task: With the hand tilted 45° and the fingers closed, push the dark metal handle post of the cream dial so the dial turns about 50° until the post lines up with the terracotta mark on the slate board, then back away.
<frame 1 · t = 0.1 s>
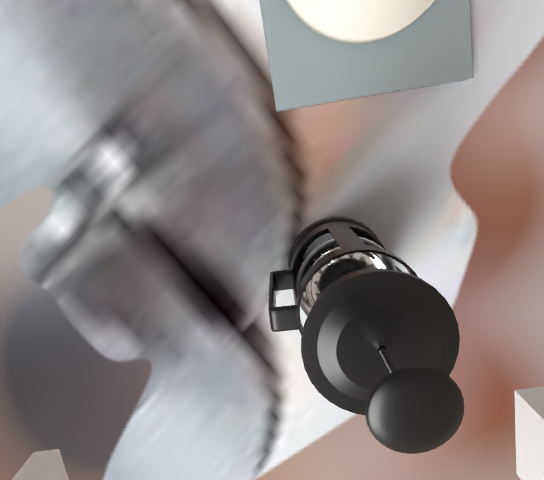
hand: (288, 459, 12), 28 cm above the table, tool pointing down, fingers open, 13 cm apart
french press: (330, 264, 39), on the table
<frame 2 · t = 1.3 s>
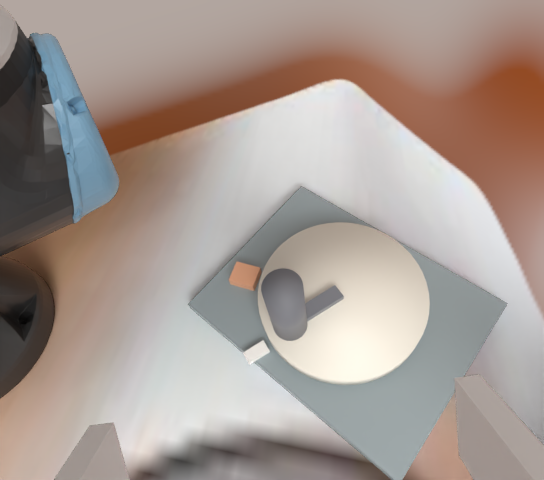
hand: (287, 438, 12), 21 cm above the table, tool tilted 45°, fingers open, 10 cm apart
dial: (342, 279, 31), point 6 cm above the table, hinge at 0.0°
dial board: (339, 309, 36), on the table
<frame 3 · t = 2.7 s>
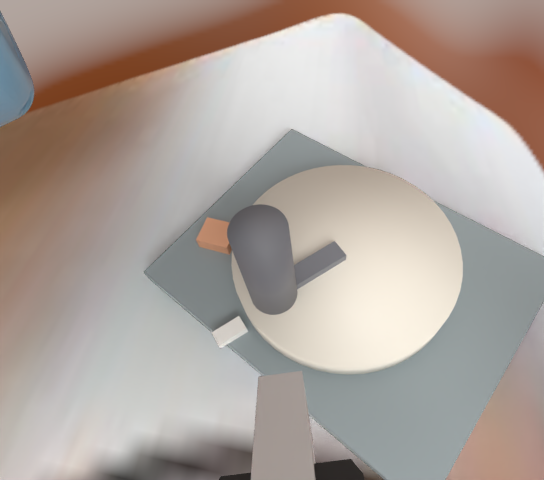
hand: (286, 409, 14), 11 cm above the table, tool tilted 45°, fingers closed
dial: (344, 229, 23), point 6 cm above the table, hinge at 0.0°
dial board: (340, 277, 28), on the table
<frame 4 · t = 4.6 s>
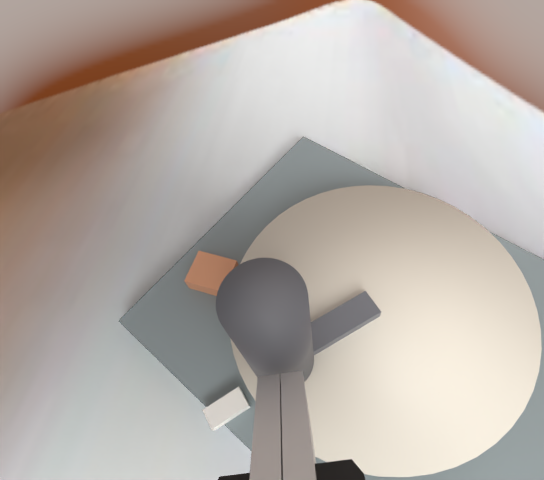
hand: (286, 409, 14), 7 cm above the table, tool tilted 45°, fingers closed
dial: (381, 281, 17), point 6 cm above the table, hinge at 2.3°, touching gripper
dial board: (368, 328, 22), on the table
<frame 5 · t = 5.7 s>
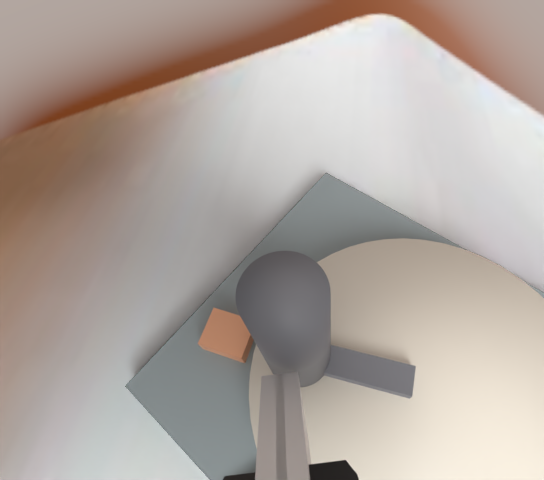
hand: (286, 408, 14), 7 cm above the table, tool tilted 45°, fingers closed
dial: (429, 371, 14), point 6 cm above the table, hinge at 46.8°, touching gripper
dial board: (402, 399, 20), on the table
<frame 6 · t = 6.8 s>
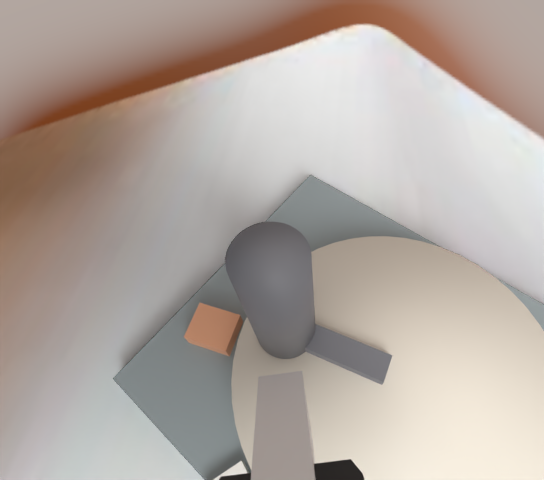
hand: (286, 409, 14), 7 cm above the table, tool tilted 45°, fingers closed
dial: (400, 358, 15), point 6 cm above the table, hinge at 56.1°
dial board: (380, 390, 20), on the table
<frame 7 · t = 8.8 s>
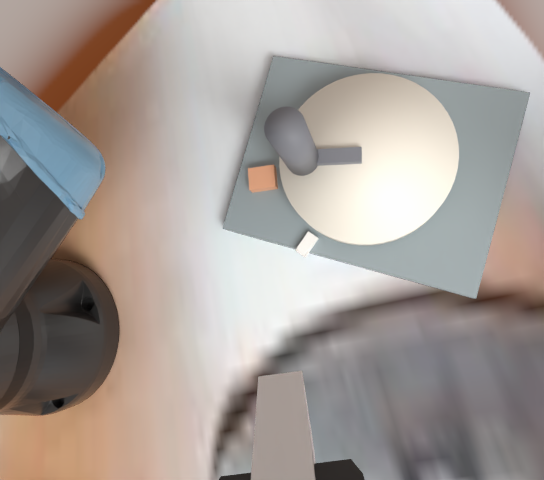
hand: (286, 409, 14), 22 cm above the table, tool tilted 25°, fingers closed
dial: (363, 145, 30), point 6 cm above the table, hinge at 56.1°
dial board: (365, 169, 36), on the table
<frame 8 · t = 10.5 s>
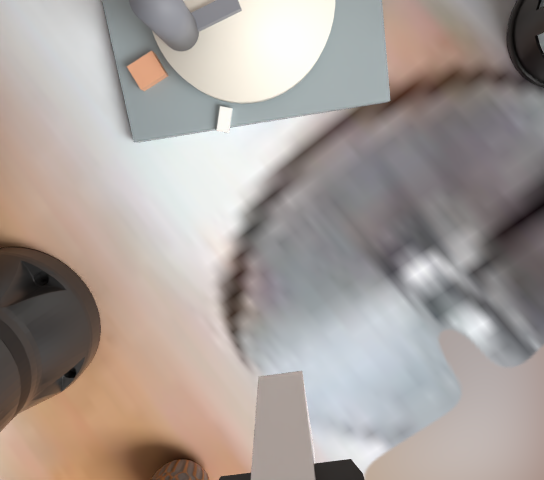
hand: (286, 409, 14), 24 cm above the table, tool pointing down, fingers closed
vase: (185, 473, 44), on the table
dial board: (244, 17, 33), on the table
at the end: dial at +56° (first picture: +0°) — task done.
